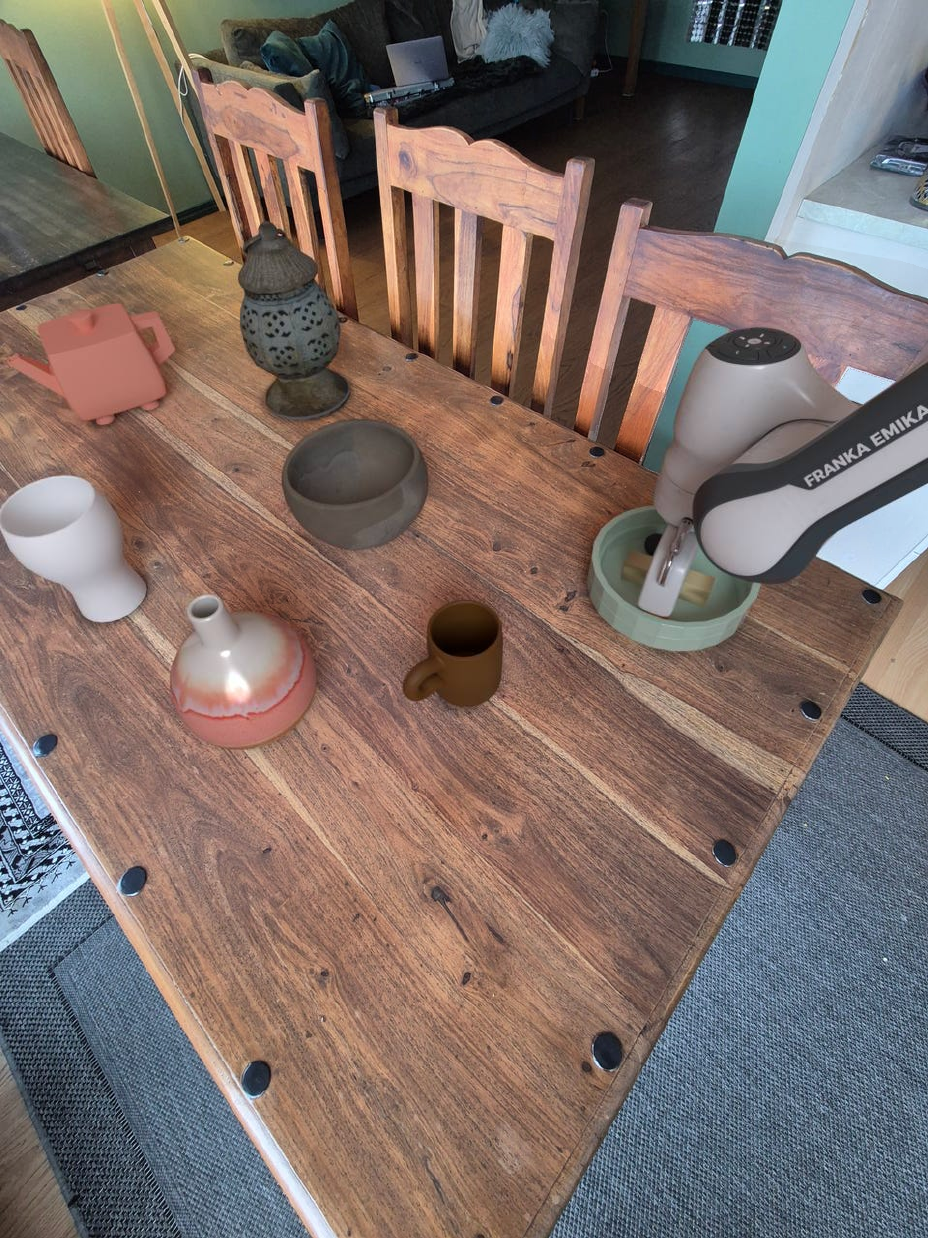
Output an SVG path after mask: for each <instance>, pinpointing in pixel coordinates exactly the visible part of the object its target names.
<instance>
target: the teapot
mask: <svg viewBox="0 0 928 1238" xmlns="http://www.w3.org/2000/svg"><path fill="white" fill-rule="evenodd" d="M150 327H151V330H152V332H153V335H154V337H155V341H154V342H153V343H151V344H150V345H149V346H148V344H147V342H146V340H145V338H144V337H143V335H142V333H141V332H140V331H142V330H144V329H147V328H150ZM37 332H38V335H39V338H40V341H41V344H42V347H43V349H44V352H45V355H46V358H47V360H48V363H49V365H48V364H46V363H44V362H40V361H38V360H35V359H33V358H30V357H27V356H24V355H22V354H19V352H16V353H14V354H12V355H11V356H9V357H7V358H6V359H5V360H6V363H7V365H8V366H10V367H11V368H13V369H15V370H16V371H18V372H20V373H22V374H23V375H25V376H27V377H28V378H30V379H32V380H34V381H35V382H36V383H39V384H40V385H42V386H44V387H45V388H47V389H49V390H50V391H53V392H54V393H56V394H58V395H59V396H61V397H64V398H65V400H66V402H67V404H68V406H69V407H70V409H71V410H72V412H74V414H75V415H76V416H77V417H78V418H79V419H80V420H81V421H82V422H86V421H88V422H89V421H92V420H93V421H94V420H95V422H96V424H97V425H100V426H103V425H108V424H111V423H112V422H114V421H115V419H116V415H115V414H118V413H121V412H125V411H128V410H131V409H134V408H138V407H140V408H141V409H142V410H143V411H153V410H155V409H157V408H158V407H159V405H160V401H159V399H161V398H163V397H165V396H167V395H168V393H167V387H166V382H165V379H164V376H163V374H162V372H161V370H160V367H159V366H160V365H162V364H163V362H165V361H166V360H167V359H168V358H169V357H170V356H171V355H172V354H173V353H174V352H175V351H176V348H175V346H174V344H173V342H172V340H171V338H170V336H169V333H168V332H167V330H166V327H165V326H164V323H163V322H162V319H161V318H160V315H159V313H158V312H157V310H153V311H149V312H144V313H139V314H133V315H130V314H129V313H128V311H127V310H126V308H125V306H124V305H123V304H122V303H120V302H118V303H111V304H107V305H101V306H97V307H94V308H90V309H79V310H78V309H77V310H75V311H72V312H71V313H69V314H67V315H64V316H60V317H57V318H53V319H50V320H47V321H45V322H41V323H39V324H38V325H37Z"/></svg>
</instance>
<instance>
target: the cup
mask: <svg viewBox="0 0 928 1238" xmlns="http://www.w3.org/2000/svg"><path fill="white" fill-rule="evenodd" d="M120 520H121V519H120V517H119V516H118V514H117V513H116V511H115V509H114V507H113V506H112V505H111V503H110V501H109V499H108V497H106V496H105V495H104V494H103V493H101V491H100V490H99V489H97V488H96V487H95V485H93V484H92V483H91V482H90V481H88V480H86V479H85V478H83V477H79V476H76V475H66V474H63V475H62V474H61V475H53V476H48V477H44V478H40V479H38V480H35V481H32V482H30V483H28V484H26V485H25V486H23V487H21V488H19V489H17V490H16V491H15V492H14V493H13V494H11V495H10V496H9V497H8V498H7V499H6V500H5V501H4V502H3V504H2V505H1V507H0V532H1V534H2V536H3V539H4V540H5V543H6V545H7V547H8V550H9V551H10V552H11V553H12V555H14V557H15V558H16V559H17V560H18V562H20V563H21V565H23V566H24V567H25V568H26V569H28V570H30V571H31V572H33V573H34V574H36V575H38V576H39V577H41V578H43V579H45V580H48V581H51V582H52V583H56V584H59V585H61V586H63V588H65V589H66V590H67V591H68V592H69V593H71V595H72V597H73V599H74V602H75V604H76V605H77V607H78V609H79V611H80V613H81V615H82V616H83V617H85V619H87V620H89V621H91V622H94V623H109V622H113V621H117V620H120V619H123V618H125V617H126V616H129V615H130V614H131V613H133V612H134V611H135V610H137V608H139V606H141V604H142V603H143V601H144V599H145V598H146V594H147V584H146V582H145V580H144V579H143V578H142V577H141V575H140V574H139V573H138V572H137V571H136V570H135V569H134V568H132V566H131V565H129V563H128V562H127V559H126V557H125V555H124V535H123V530H122V529H123V528H122V524H121V521H120Z"/></svg>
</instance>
